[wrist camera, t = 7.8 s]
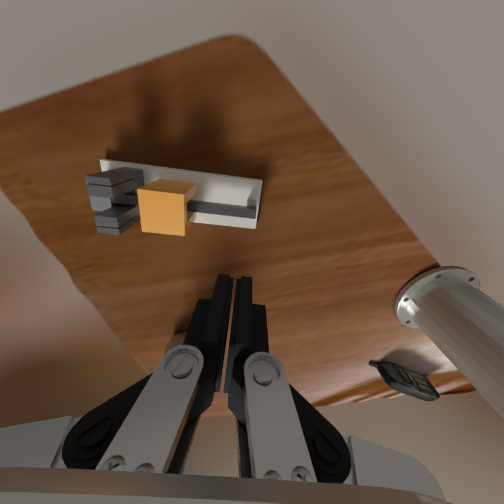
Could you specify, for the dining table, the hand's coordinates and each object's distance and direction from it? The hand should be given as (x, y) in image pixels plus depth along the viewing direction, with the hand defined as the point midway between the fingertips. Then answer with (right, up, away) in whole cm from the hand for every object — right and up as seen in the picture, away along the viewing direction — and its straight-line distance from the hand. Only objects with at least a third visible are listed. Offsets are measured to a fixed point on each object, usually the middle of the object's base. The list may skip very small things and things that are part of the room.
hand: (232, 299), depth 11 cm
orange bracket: (-7, +9, +13) cm, 18 cm away
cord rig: (-7, +9, +15) cm, 19 cm away
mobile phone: (+32, -22, +34) cm, 51 cm away
